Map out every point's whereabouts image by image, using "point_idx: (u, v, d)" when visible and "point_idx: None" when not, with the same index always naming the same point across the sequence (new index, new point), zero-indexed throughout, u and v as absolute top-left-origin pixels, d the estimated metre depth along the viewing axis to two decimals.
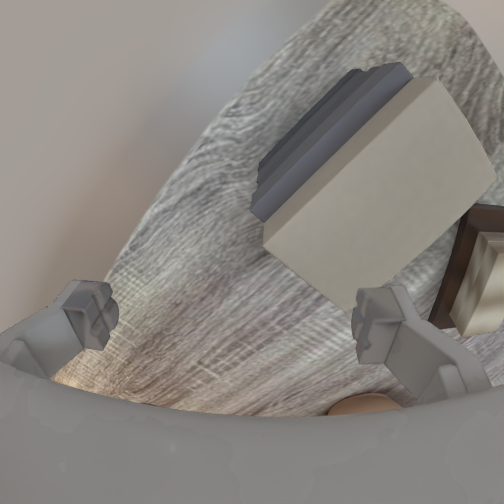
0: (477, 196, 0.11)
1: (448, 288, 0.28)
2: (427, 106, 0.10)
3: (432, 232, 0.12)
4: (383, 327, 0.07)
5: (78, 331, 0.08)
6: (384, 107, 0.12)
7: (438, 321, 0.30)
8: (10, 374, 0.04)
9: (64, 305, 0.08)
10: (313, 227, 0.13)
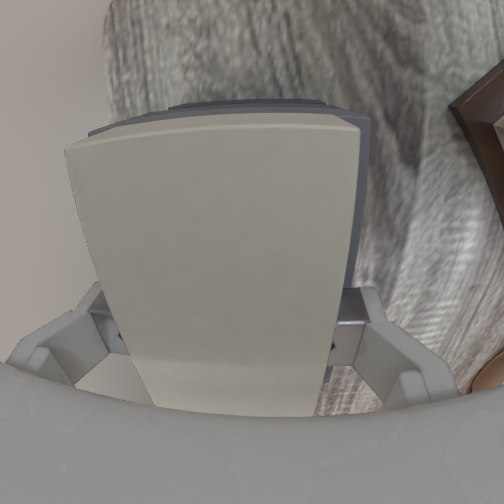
0: (343, 214, 0.06)
1: None
2: (94, 203, 0.06)
3: (314, 329, 0.07)
4: (347, 329, 0.07)
5: (105, 335, 0.08)
6: None
7: None
8: (10, 374, 0.04)
9: (90, 309, 0.08)
10: (174, 399, 0.10)
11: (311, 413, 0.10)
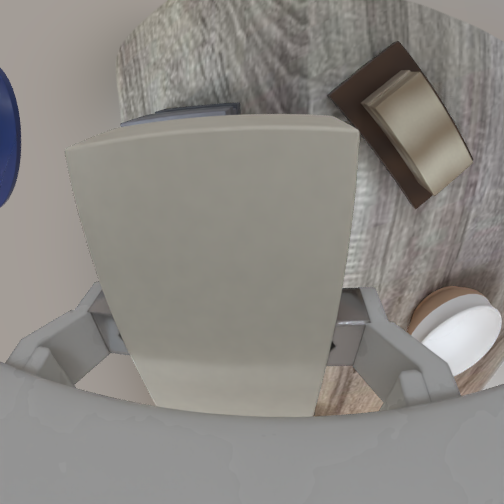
0: (343, 215, 0.06)
1: (388, 165, 0.28)
2: (94, 205, 0.06)
3: (313, 329, 0.07)
4: (347, 329, 0.07)
5: (105, 335, 0.08)
6: None
7: (415, 196, 0.30)
8: (10, 374, 0.04)
9: (90, 309, 0.08)
10: (174, 399, 0.10)
11: (311, 413, 0.10)
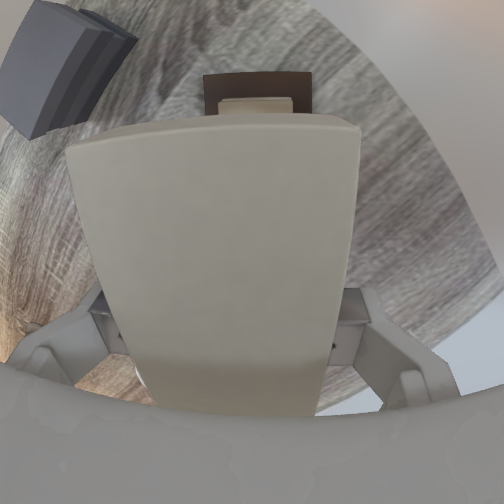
0: (344, 214, 0.06)
1: None
2: (94, 204, 0.06)
3: (315, 329, 0.07)
4: (347, 329, 0.07)
5: (105, 335, 0.08)
6: None
7: None
8: (10, 374, 0.04)
9: (90, 309, 0.08)
10: (175, 400, 0.10)
11: (312, 413, 0.09)
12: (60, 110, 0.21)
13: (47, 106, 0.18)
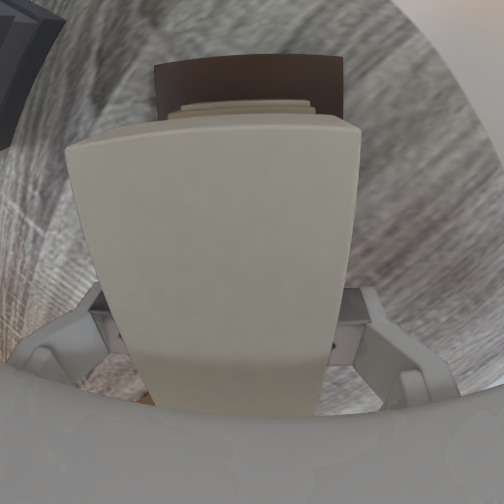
0: (344, 215, 0.06)
1: None
2: (94, 204, 0.06)
3: (314, 330, 0.07)
4: (347, 329, 0.07)
5: (105, 335, 0.08)
6: None
7: None
8: (10, 374, 0.04)
9: (90, 309, 0.08)
10: (175, 400, 0.10)
11: (311, 414, 0.09)
12: None
13: None
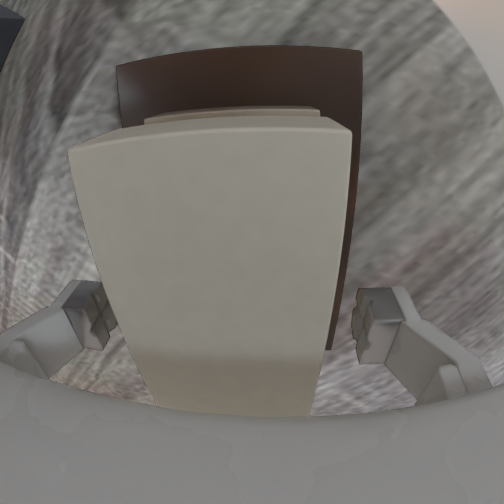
0: (336, 213, 0.06)
1: None
2: (96, 204, 0.06)
3: (309, 325, 0.07)
4: (383, 327, 0.07)
5: (78, 331, 0.08)
6: None
7: None
8: (10, 374, 0.04)
9: (64, 305, 0.08)
10: (173, 395, 0.10)
11: (308, 409, 0.10)
12: None
13: None
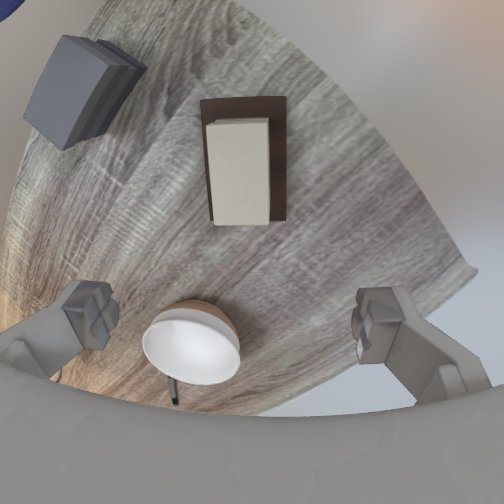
0: (265, 139, 0.28)
1: (207, 174, 0.37)
2: (212, 138, 0.28)
3: (262, 169, 0.30)
4: (383, 327, 0.07)
5: (78, 331, 0.08)
6: None
7: None
8: (10, 374, 0.04)
9: (64, 305, 0.08)
10: (221, 206, 0.32)
11: (267, 210, 0.32)
12: (86, 126, 0.29)
13: (77, 124, 0.26)
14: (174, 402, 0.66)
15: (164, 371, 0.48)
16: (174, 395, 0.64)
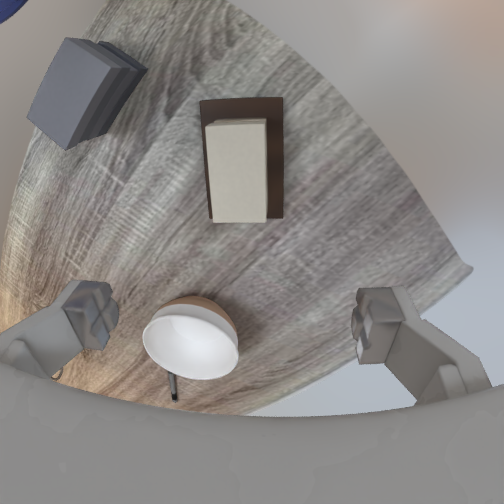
0: (262, 140, 0.29)
1: (206, 173, 0.38)
2: (211, 138, 0.29)
3: (260, 169, 0.31)
4: (383, 327, 0.07)
5: (78, 331, 0.08)
6: None
7: None
8: (10, 374, 0.04)
9: (63, 306, 0.08)
10: (220, 204, 0.33)
11: (264, 208, 0.33)
12: (88, 127, 0.30)
13: (80, 125, 0.27)
14: (174, 398, 0.67)
15: (164, 366, 0.49)
16: (174, 391, 0.65)
